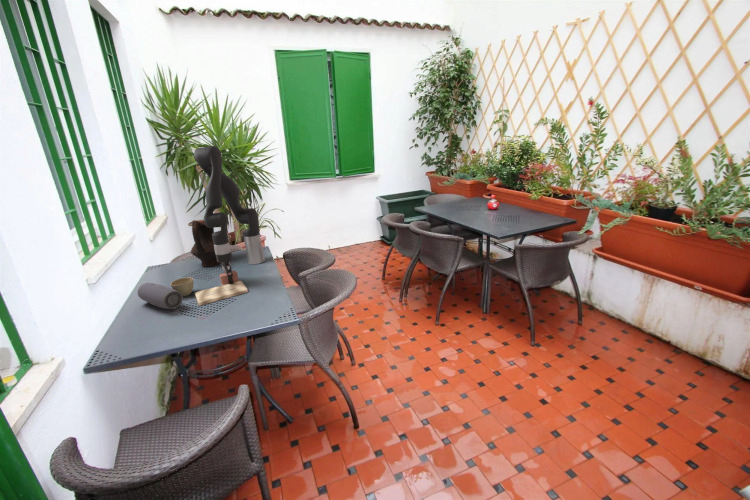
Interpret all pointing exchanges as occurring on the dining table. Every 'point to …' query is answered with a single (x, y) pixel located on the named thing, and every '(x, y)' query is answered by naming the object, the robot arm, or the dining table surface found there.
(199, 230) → the jug
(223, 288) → the board
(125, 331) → the dining table surface
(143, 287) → the bluetooth speaker
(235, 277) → the block
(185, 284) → the flower pot
